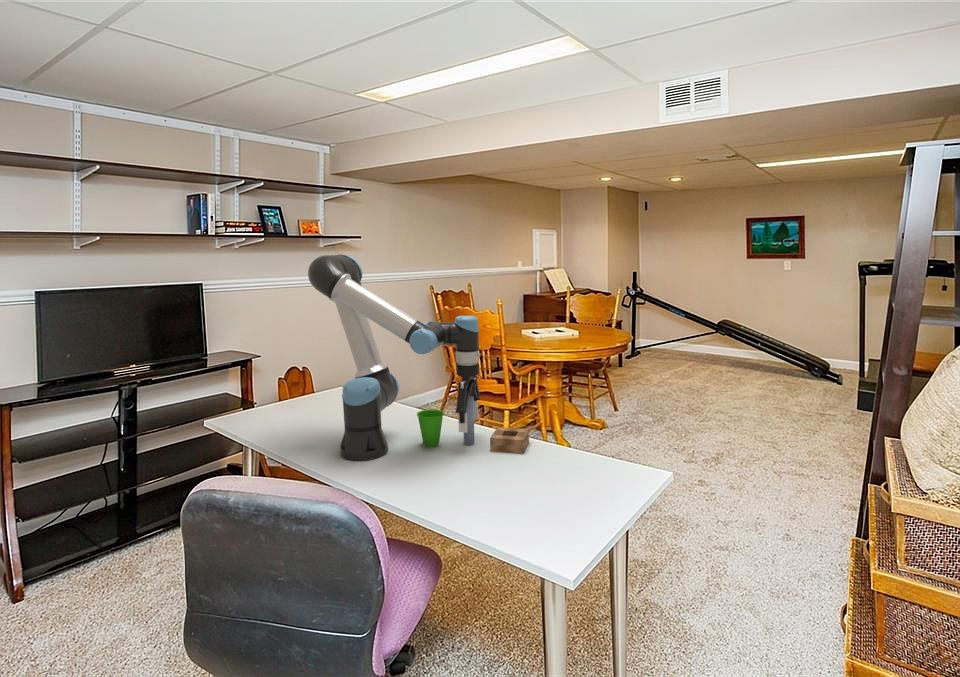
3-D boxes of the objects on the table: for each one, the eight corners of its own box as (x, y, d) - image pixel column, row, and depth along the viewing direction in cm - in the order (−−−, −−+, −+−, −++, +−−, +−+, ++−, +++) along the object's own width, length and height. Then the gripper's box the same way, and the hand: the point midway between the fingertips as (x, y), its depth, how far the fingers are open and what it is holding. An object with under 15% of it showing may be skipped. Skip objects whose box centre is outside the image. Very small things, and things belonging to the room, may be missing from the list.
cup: (440, 450, 180) (439, 417, 178) (414, 448, 182) (412, 416, 180) (447, 441, 189) (447, 409, 187) (422, 439, 191) (421, 408, 189)
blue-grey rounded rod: (462, 444, 185) (461, 398, 182) (465, 441, 188) (464, 395, 186) (472, 445, 184) (472, 398, 181) (475, 442, 187) (474, 396, 185)
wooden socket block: (490, 451, 179) (490, 437, 178) (497, 439, 189) (497, 427, 188) (523, 453, 176) (523, 440, 176) (528, 442, 187) (528, 429, 186)
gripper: (468, 372, 169) (469, 438, 172) (487, 356, 193) (488, 415, 196) (444, 371, 171) (446, 437, 174) (466, 355, 195) (468, 413, 198)
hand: (468, 425), depth 185 cm, fingers open, 13 cm apart
